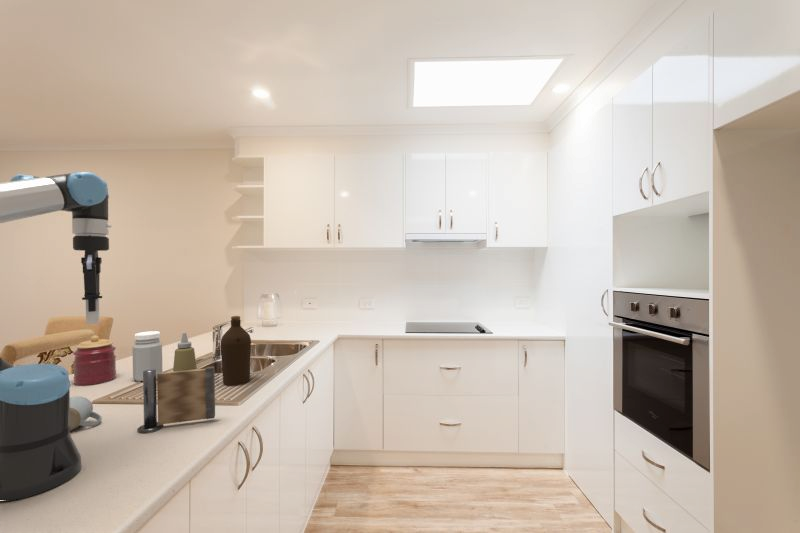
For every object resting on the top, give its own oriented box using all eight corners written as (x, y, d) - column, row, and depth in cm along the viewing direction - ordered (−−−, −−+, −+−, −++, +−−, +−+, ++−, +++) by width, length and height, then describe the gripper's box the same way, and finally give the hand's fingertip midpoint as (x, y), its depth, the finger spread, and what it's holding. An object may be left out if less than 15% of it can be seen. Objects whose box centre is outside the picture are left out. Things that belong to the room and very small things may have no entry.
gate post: (163, 429, 103) (162, 371, 102) (137, 435, 99) (135, 375, 99) (163, 421, 108) (162, 366, 107) (137, 427, 104) (136, 369, 104)
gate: (157, 425, 103) (156, 373, 103) (159, 422, 105) (159, 371, 105) (214, 418, 108) (213, 368, 107) (215, 415, 109) (214, 366, 109)
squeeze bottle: (184, 383, 142) (183, 336, 142) (168, 381, 144) (167, 334, 144) (201, 377, 149) (200, 332, 149) (186, 375, 152) (185, 331, 152)
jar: (131, 378, 149) (130, 333, 149) (160, 373, 155) (159, 329, 155) (134, 384, 142) (134, 336, 141) (165, 378, 148) (164, 333, 148)
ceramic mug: (46, 436, 99) (46, 407, 99) (60, 424, 107) (60, 397, 107) (95, 430, 103) (95, 402, 103) (105, 418, 111) (106, 392, 111)
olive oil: (257, 379, 146) (256, 315, 145) (234, 388, 136) (233, 319, 136) (238, 376, 150) (237, 313, 150) (214, 384, 141) (213, 317, 141)
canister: (101, 374, 155) (100, 331, 154) (124, 377, 151) (123, 333, 150) (65, 384, 142) (64, 337, 142) (88, 387, 138) (87, 339, 138)
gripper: (106, 234, 98) (108, 325, 98) (110, 237, 109) (112, 319, 109) (68, 233, 94) (70, 328, 94) (76, 236, 105) (78, 321, 105)
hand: (92, 323), depth 102 cm, fingers closed
